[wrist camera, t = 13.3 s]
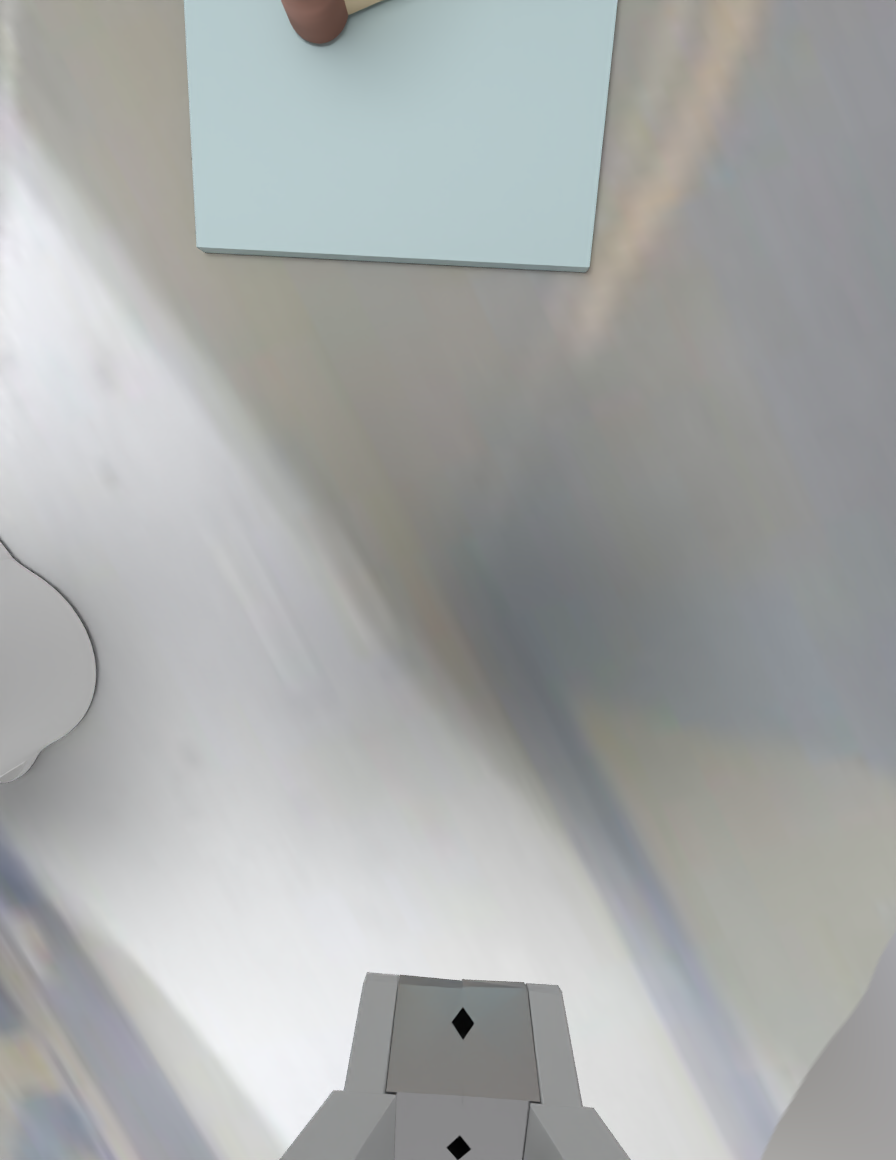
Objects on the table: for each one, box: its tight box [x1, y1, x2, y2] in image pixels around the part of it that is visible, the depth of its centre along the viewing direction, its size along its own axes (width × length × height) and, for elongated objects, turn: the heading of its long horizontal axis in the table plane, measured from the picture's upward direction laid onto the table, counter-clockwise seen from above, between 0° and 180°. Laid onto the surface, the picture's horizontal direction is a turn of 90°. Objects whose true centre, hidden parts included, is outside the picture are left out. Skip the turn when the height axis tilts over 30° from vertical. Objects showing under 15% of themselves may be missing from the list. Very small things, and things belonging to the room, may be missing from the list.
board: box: [184, 0, 618, 272], centre depth 29 cm, size 22×22×1 cm
